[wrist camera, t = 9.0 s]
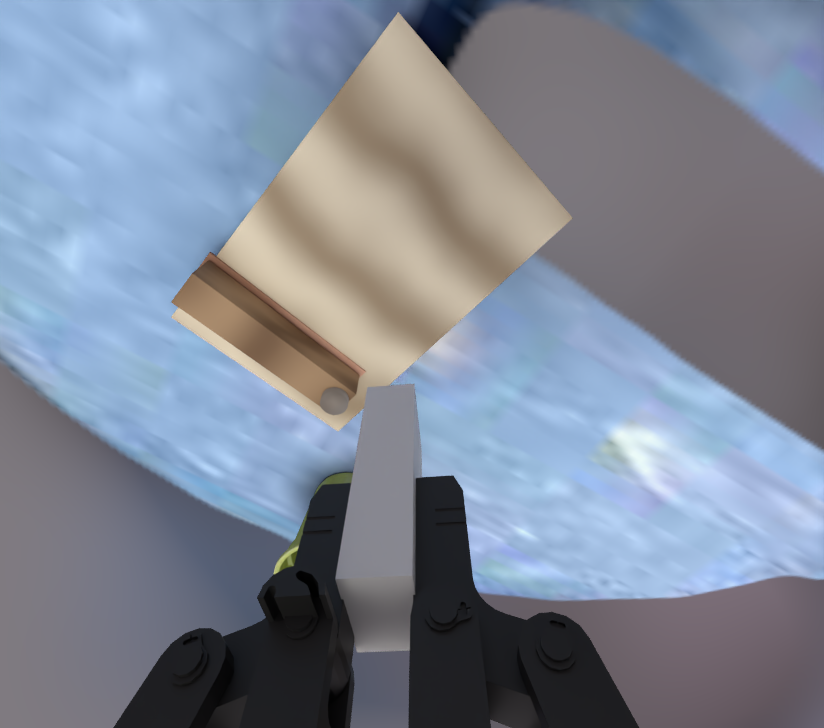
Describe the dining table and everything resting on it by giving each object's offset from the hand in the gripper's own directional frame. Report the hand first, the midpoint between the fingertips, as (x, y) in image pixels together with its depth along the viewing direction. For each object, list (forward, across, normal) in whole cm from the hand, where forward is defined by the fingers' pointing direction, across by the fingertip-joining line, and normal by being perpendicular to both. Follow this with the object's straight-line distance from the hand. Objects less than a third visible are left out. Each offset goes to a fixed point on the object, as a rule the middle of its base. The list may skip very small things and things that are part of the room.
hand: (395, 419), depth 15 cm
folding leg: (+15, -9, -4) cm, 18 cm away
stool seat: (+18, -3, 0) cm, 18 cm away
